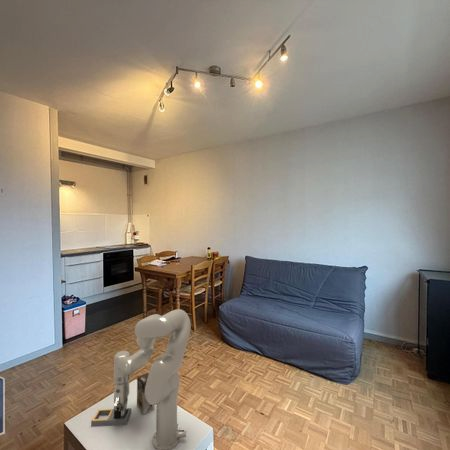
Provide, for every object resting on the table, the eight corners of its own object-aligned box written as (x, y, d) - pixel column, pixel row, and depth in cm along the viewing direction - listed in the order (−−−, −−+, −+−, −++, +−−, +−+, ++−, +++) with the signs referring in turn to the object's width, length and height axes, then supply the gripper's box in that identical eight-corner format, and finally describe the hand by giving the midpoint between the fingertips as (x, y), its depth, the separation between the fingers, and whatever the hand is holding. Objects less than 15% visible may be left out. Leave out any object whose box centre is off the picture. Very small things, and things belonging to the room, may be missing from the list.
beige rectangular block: (126, 415, 128) (127, 399, 128) (123, 422, 124) (124, 405, 124) (118, 416, 128) (118, 400, 128) (114, 422, 123) (115, 406, 123)
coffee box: (136, 406, 135) (136, 376, 135) (147, 400, 139) (147, 372, 140) (143, 415, 128) (143, 384, 129) (154, 409, 133) (155, 379, 133)
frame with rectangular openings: (131, 412, 130) (131, 407, 130) (126, 424, 122) (126, 419, 122) (98, 414, 129) (98, 409, 129) (91, 426, 121) (91, 421, 121)
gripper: (123, 387, 118) (122, 423, 117) (134, 367, 135) (133, 398, 135) (107, 388, 117) (106, 424, 117) (120, 367, 134) (119, 399, 134)
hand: (121, 410), depth 126 cm, fingers open, 9 cm apart
